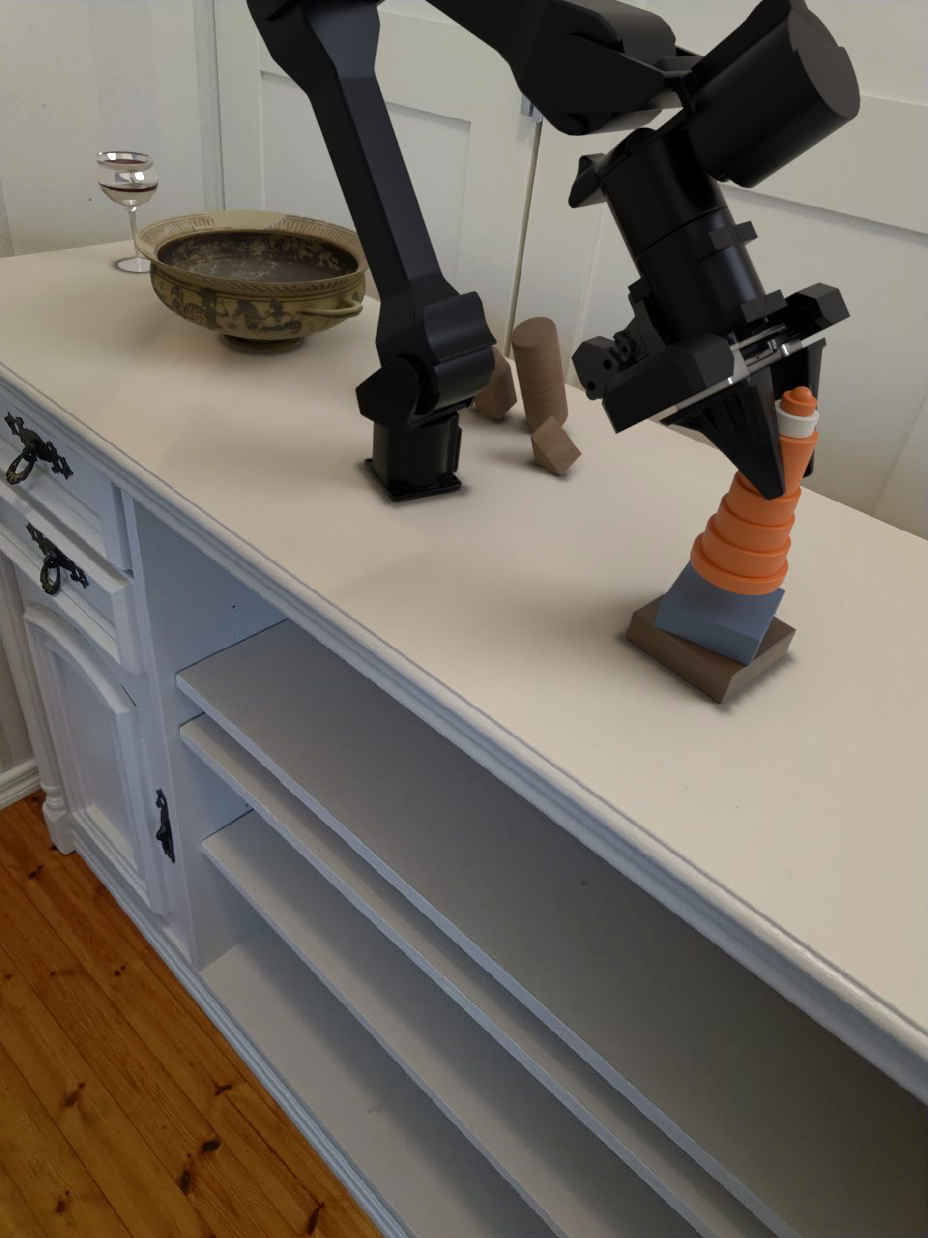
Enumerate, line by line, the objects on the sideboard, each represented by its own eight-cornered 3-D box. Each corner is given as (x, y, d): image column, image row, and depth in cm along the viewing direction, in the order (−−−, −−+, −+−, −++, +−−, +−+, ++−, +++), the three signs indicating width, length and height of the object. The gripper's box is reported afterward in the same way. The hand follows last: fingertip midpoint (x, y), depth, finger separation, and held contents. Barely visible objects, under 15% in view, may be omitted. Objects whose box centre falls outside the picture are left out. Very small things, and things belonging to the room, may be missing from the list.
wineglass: (135, 252, 109) (120, 147, 101) (179, 264, 107) (168, 158, 99) (97, 265, 104) (79, 156, 96) (143, 278, 102) (128, 167, 94)
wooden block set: (422, 421, 86) (394, 337, 78) (477, 369, 88) (456, 283, 80) (563, 489, 77) (549, 402, 68) (620, 429, 79) (613, 339, 71)
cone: (710, 596, 52) (779, 411, 44) (676, 540, 56) (732, 362, 49) (799, 594, 53) (881, 413, 45) (759, 539, 58) (826, 365, 50)
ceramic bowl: (437, 364, 91) (445, 268, 85) (243, 418, 78) (236, 309, 71) (278, 277, 107) (275, 191, 101) (93, 310, 93) (76, 212, 87)
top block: (749, 667, 54) (760, 641, 53) (652, 626, 56) (661, 600, 55) (775, 614, 59) (785, 589, 57) (685, 579, 61) (693, 553, 60)
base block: (720, 704, 55) (731, 677, 53) (625, 638, 59) (632, 611, 57) (785, 655, 59) (797, 629, 58) (691, 597, 63) (700, 571, 62)
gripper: (658, 280, 60) (748, 480, 62) (485, 337, 49) (601, 580, 50) (800, 187, 51) (900, 423, 53) (630, 229, 40) (764, 528, 42)
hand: (791, 487), depth 50 cm, fingers closed on cone, 3 cm apart
